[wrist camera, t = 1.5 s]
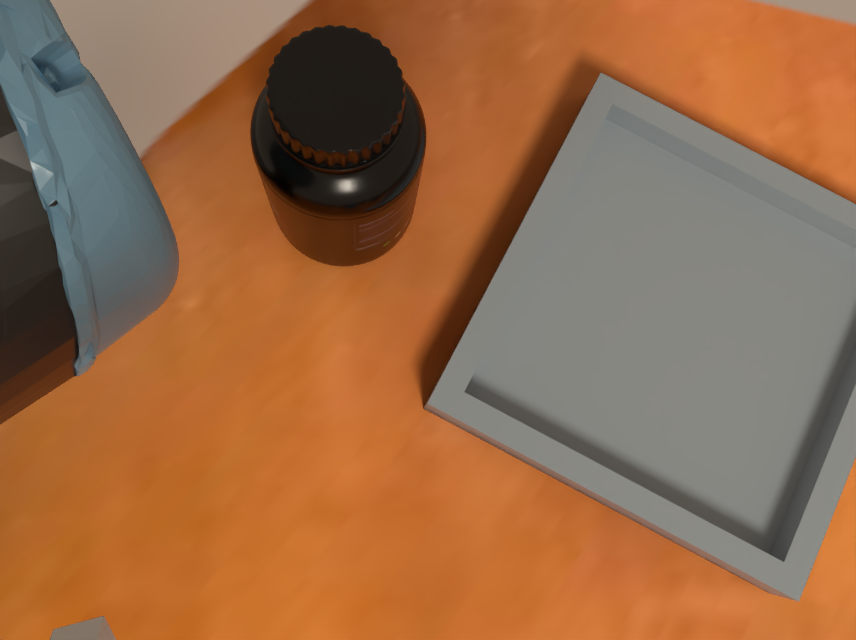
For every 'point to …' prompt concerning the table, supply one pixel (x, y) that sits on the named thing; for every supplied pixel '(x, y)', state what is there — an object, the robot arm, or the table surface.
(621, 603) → the table surface
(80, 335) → the robot arm
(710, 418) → the tray
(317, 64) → the supplement bottle
